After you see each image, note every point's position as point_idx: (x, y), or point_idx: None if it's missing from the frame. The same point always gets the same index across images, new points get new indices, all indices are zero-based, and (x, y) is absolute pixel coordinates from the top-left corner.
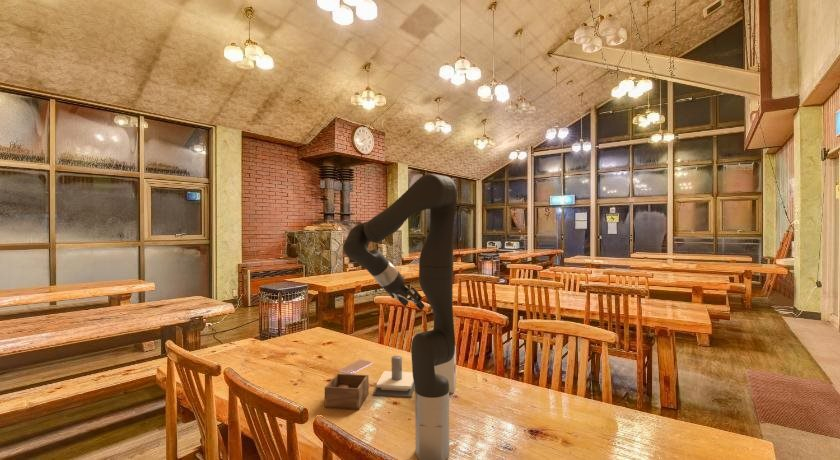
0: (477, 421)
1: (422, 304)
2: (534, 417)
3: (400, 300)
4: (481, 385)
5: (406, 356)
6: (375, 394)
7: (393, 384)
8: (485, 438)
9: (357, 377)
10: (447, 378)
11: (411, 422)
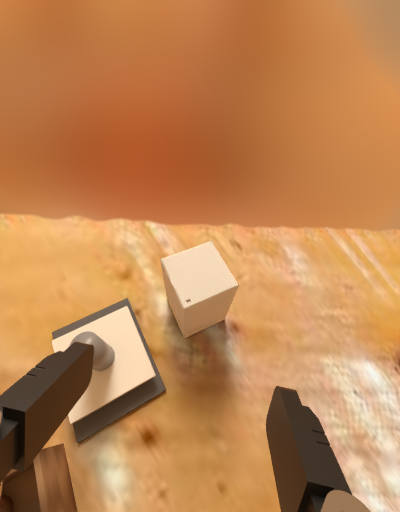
0: (326, 394)
1: (323, 444)
2: (374, 319)
3: (30, 457)
4: (244, 266)
5: (55, 231)
6: (83, 439)
7: (112, 393)
8: (380, 447)
9: (7, 476)
10: (218, 315)
11: (236, 501)
